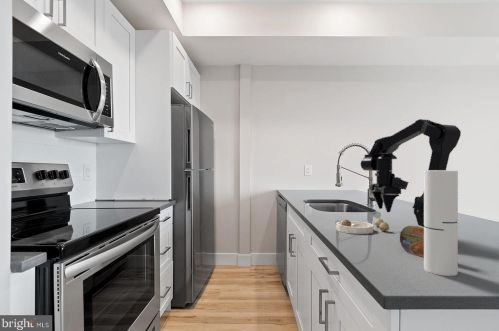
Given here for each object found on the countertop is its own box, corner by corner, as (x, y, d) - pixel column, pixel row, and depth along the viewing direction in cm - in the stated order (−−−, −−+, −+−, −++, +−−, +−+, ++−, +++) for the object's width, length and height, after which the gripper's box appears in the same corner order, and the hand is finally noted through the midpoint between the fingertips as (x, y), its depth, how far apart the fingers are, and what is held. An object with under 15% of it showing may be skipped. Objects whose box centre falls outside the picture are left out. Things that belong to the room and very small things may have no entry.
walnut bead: (350, 230, 120) (350, 220, 120) (341, 229, 121) (341, 220, 121) (351, 228, 123) (351, 219, 123) (342, 227, 124) (342, 218, 124)
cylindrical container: (463, 276, 72) (463, 171, 72) (430, 274, 73) (430, 170, 73) (449, 266, 79) (450, 170, 79) (419, 265, 80) (419, 170, 80)
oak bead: (389, 232, 118) (389, 223, 118) (379, 231, 120) (379, 222, 120) (389, 230, 122) (389, 221, 122) (379, 230, 123) (379, 221, 123)
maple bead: (383, 227, 127) (383, 219, 127) (374, 227, 129) (374, 218, 129) (383, 226, 131) (383, 217, 131) (374, 225, 132) (374, 217, 132)
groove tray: (372, 235, 114) (372, 228, 114) (334, 231, 120) (334, 225, 120) (373, 228, 127) (373, 222, 127) (339, 225, 133) (338, 219, 133)
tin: (399, 250, 94) (399, 223, 94) (406, 249, 95) (406, 222, 95) (448, 265, 80) (448, 233, 80) (455, 263, 82) (455, 232, 82)
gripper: (416, 171, 111) (416, 214, 111) (396, 170, 129) (396, 207, 129) (384, 171, 112) (384, 214, 112) (369, 170, 130) (369, 207, 130)
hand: (384, 210), depth 121 cm, fingers open, 9 cm apart
